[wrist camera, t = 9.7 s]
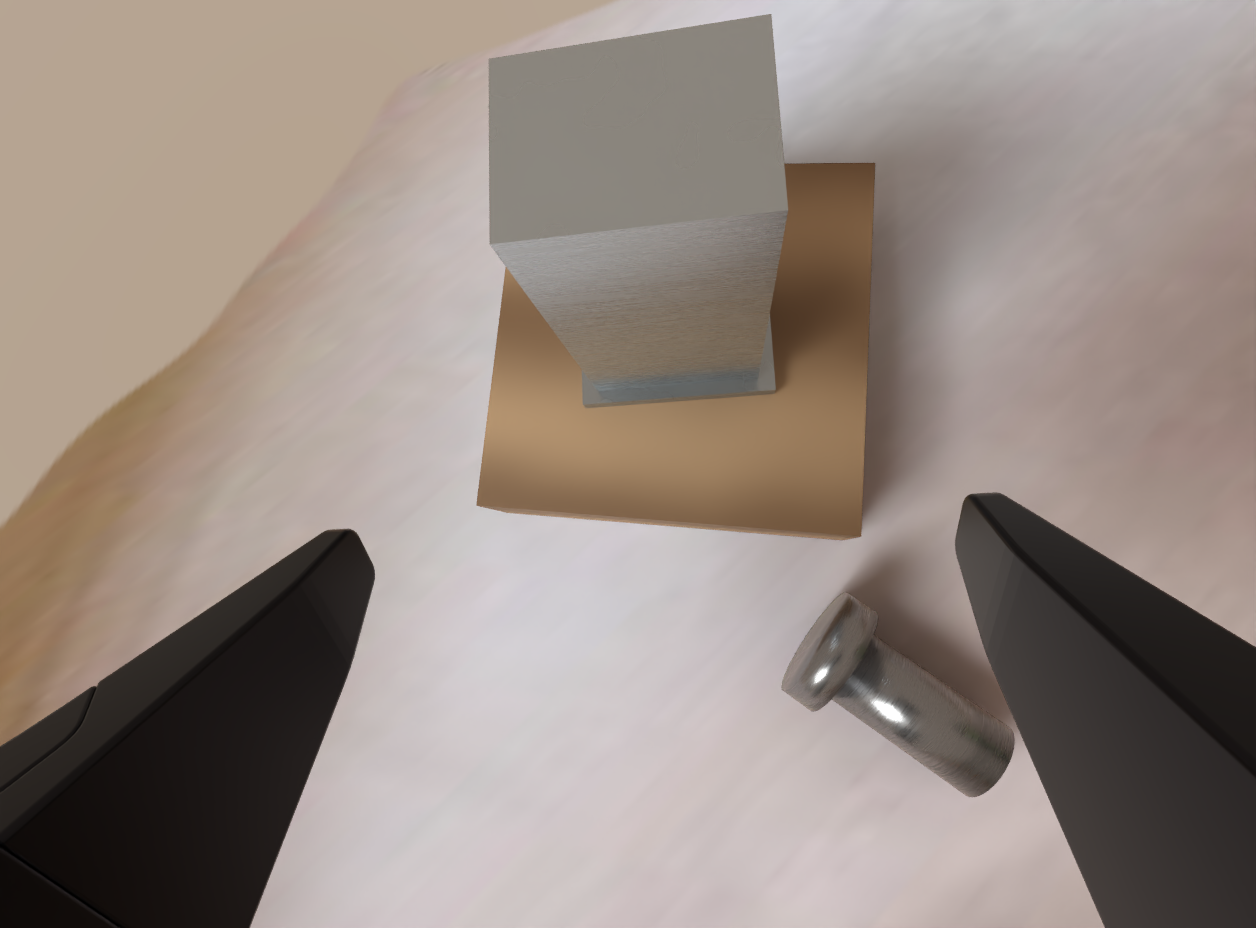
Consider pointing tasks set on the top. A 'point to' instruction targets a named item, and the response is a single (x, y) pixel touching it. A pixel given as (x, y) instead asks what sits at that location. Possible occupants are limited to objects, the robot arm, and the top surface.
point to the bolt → (897, 698)
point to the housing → (646, 206)
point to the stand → (708, 402)
